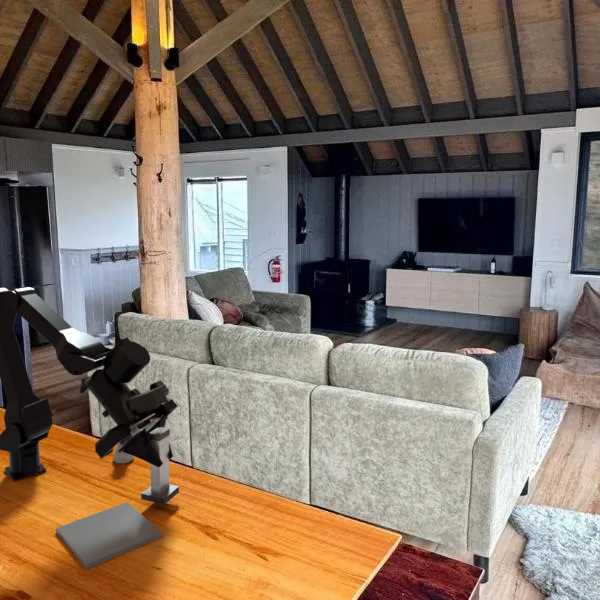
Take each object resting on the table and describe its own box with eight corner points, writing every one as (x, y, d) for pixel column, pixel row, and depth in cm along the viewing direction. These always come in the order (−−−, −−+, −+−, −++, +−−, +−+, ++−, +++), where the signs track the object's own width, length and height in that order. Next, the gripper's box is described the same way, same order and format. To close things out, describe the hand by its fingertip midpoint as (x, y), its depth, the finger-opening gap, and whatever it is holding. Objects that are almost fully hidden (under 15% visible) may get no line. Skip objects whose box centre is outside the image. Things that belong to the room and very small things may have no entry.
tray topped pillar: (141, 499, 103) (139, 433, 101) (156, 486, 107) (155, 423, 105) (164, 505, 101) (163, 438, 99) (179, 492, 106) (178, 428, 103)
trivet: (56, 532, 95) (56, 528, 95) (127, 506, 104) (127, 502, 103) (86, 569, 86) (86, 564, 85) (161, 536, 94) (161, 532, 94)
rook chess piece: (127, 465, 120) (126, 430, 118) (109, 463, 121) (107, 428, 119) (137, 456, 124) (136, 422, 123) (119, 454, 125) (118, 420, 124)
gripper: (106, 386, 93) (163, 459, 91) (168, 359, 110) (217, 420, 108) (70, 423, 97) (124, 494, 95) (136, 391, 114) (183, 450, 112)
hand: (166, 461), depth 103 cm, fingers closed on tray topped pillar, 3 cm apart
